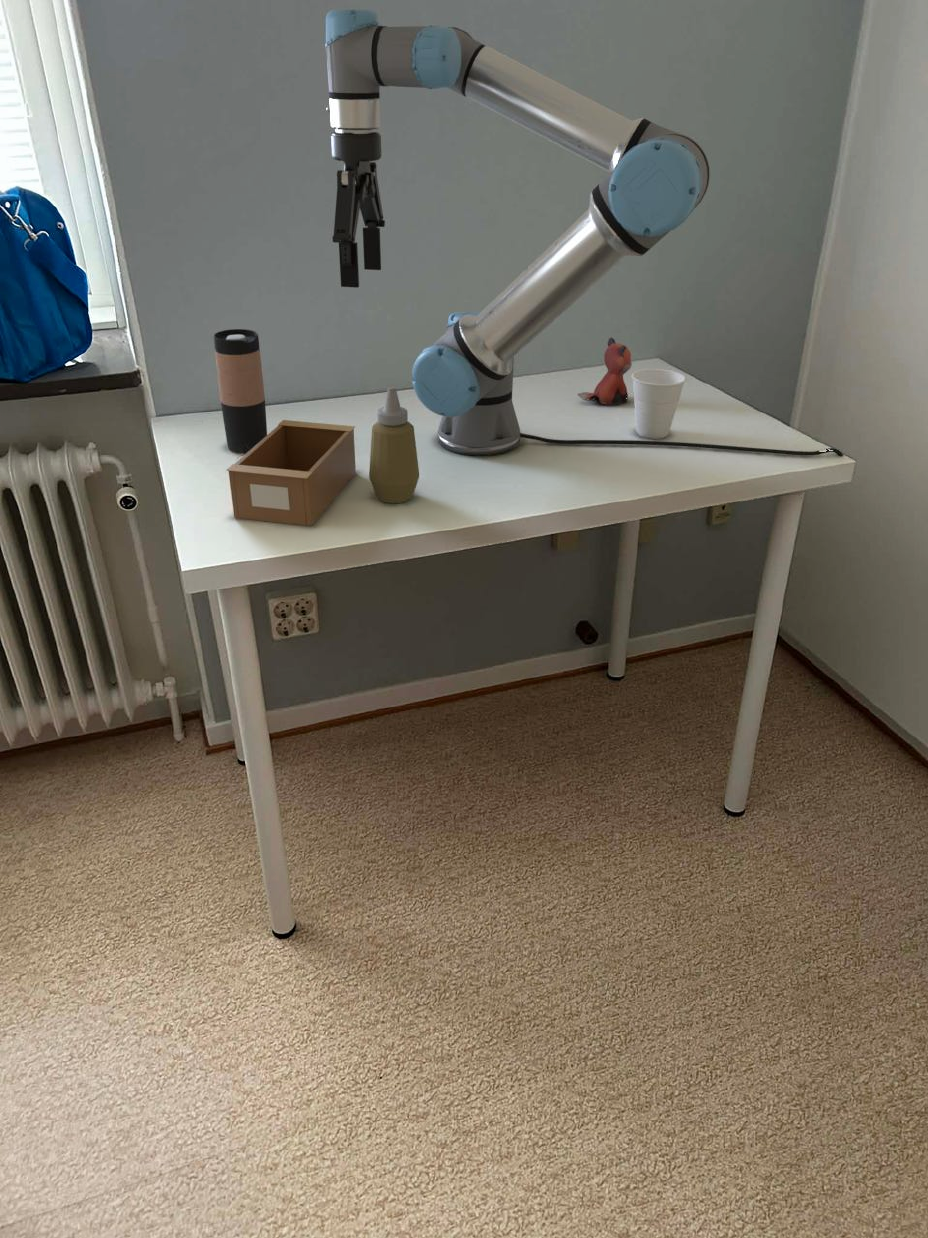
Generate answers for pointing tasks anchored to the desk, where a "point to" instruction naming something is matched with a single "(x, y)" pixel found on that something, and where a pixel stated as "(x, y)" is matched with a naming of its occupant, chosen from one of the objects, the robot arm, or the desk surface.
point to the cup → (656, 400)
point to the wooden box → (293, 473)
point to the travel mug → (241, 388)
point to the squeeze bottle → (393, 453)
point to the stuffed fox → (612, 376)
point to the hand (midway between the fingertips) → (361, 277)
